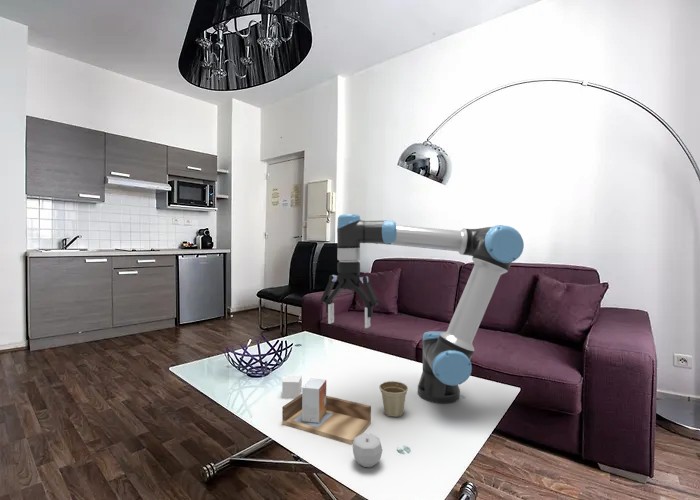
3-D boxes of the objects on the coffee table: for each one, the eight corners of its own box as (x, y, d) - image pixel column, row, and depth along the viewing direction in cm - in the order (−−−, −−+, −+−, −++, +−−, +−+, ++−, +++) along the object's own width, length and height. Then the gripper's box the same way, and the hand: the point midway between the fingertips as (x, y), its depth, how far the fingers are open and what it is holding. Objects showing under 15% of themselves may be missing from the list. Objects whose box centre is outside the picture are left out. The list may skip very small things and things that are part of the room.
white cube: (285, 391, 131) (285, 375, 131) (301, 391, 131) (301, 375, 131) (282, 398, 125) (282, 381, 125) (298, 398, 125) (298, 382, 125)
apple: (346, 468, 86) (346, 442, 86) (357, 451, 93) (357, 426, 93) (377, 476, 83) (378, 449, 83) (386, 457, 90) (386, 432, 90)
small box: (319, 423, 105) (319, 389, 105) (301, 421, 106) (301, 387, 106) (326, 411, 113) (326, 379, 112) (310, 409, 114) (310, 377, 114)
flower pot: (400, 423, 108) (401, 395, 108) (374, 415, 113) (374, 388, 113) (412, 410, 116) (412, 385, 116) (386, 403, 121) (387, 379, 121)
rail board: (370, 423, 108) (370, 405, 108) (352, 444, 96) (352, 425, 96) (306, 406, 119) (306, 390, 118) (282, 424, 107) (282, 406, 107)
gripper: (388, 261, 113) (388, 326, 113) (322, 260, 124) (322, 319, 125) (379, 262, 106) (379, 331, 107) (310, 260, 118) (311, 323, 118)
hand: (348, 325), depth 116 cm, fingers open, 13 cm apart
